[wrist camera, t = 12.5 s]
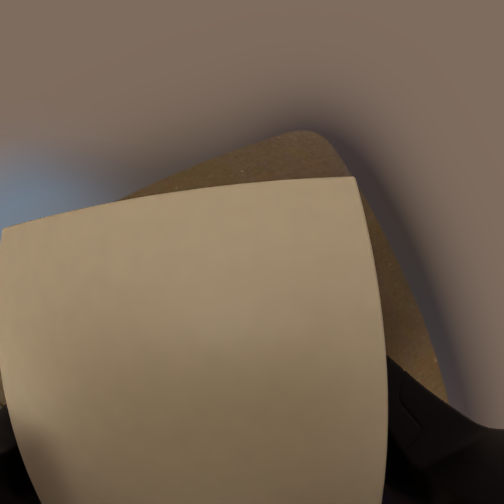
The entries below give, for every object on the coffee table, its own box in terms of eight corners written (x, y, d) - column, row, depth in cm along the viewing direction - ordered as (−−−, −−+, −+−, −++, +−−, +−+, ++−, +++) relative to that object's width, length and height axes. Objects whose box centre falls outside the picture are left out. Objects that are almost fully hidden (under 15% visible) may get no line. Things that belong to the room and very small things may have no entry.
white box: (304, 416, 10) (375, 544, 2) (161, 423, 10) (51, 522, 2) (290, 274, 11) (356, 175, 4) (147, 287, 11) (1, 227, 3)
